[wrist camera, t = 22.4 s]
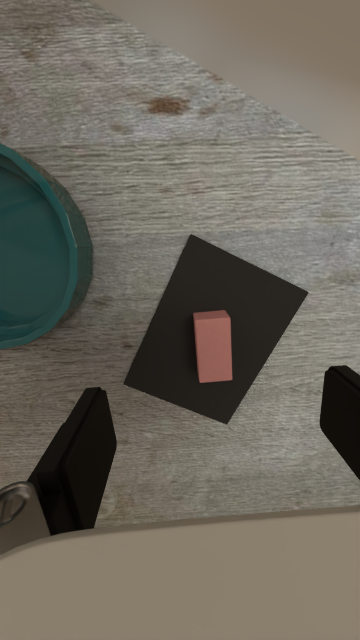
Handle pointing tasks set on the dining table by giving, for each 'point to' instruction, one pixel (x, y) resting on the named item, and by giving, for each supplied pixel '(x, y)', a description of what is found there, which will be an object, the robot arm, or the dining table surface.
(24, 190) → the bowl
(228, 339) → the eraser
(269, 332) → the mat
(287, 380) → the dining table surface
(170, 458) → the dining table surface
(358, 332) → the dining table surface
